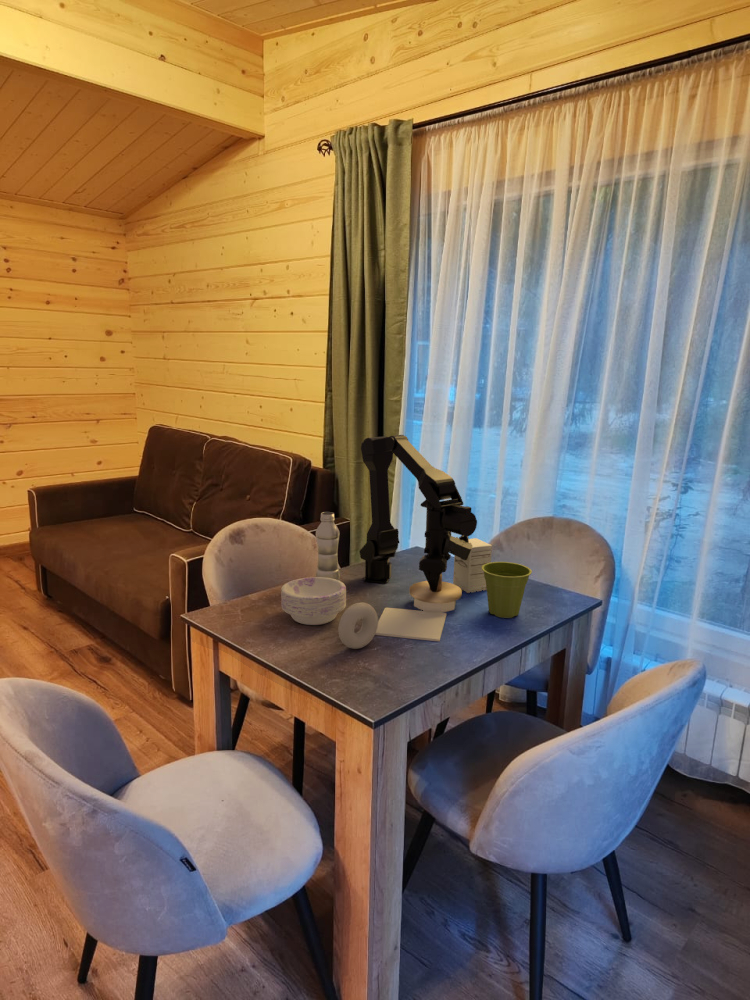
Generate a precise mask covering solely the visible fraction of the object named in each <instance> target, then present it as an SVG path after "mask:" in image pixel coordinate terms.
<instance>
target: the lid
mask: <svg viewBox="0 0 750 1000" xmlns="http://www.w3.org/2000/svg"><path fill="white" fill-rule="evenodd" d="M408 591H409V592H408V594H409V596H410V597H412V598H415V599H417V600H420V601H423V602H429V603H448V602H453V601H456V602H457V601H458V600H460V599H462V595H463V594H462V592H463V590H462V589H461V588H460V587H458V586H457V585H454V584H453V583H452V582H447V581H443V573H442V574H440V578H439V583H438V587H437V591H436V592H432V591H431V588H430V586H429V584H428V581H427V580H424V581H418V582H415V583H413V584H411V585H410V586H409V589H408Z"/></svg>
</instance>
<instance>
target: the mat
mask: <svg viewBox="0 0 750 1000" xmlns="http://www.w3.org/2000/svg"><path fill="white" fill-rule="evenodd" d="M446 619H447V612H443V613H439V612H428V611H422V610H418V609H417V610H415V609H414V610H413V609H406V608H396V607H395V608H394V607H384V609H383V611H382V614H381V615H380V617H379V618H378V627H377V631H376V633H375V635H374V636H385V637H392V638H393V637H394V638H402V639H403V638H404V639H413V640H421V641H432V642H440V640H441V637H442V633H443V629H444V627H445V626H444V625H445V623H446V622H445V621H446Z"/></svg>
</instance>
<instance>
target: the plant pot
mask: <svg viewBox="0 0 750 1000" xmlns="http://www.w3.org/2000/svg"><path fill="white" fill-rule="evenodd" d="M482 570H483V571H484V577H485V580H486V588H487V590H486V597H487V606H488V612H489V613H490V614H491V615H494V616H496V617H499V618H506V619H511V618H515V616H518V615H519V614H520V610H521V606H522V601H523V597H524V595H525V589H526V585H527V583H528V581H529V577H530V575H532V572H533V570H532V569H531V568H529V566H526V565H523V564H520V563H515V562H509V561H493V562H492V561H491V563H487V564H484V565H483V566H482Z"/></svg>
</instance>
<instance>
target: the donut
mask: <svg viewBox="0 0 750 1000" xmlns="http://www.w3.org/2000/svg"><path fill="white" fill-rule="evenodd" d="M359 620H362V625H361V627H360V629H359V630H358V631H357V632H355V627H356V625H357V622H359ZM378 621H379V616H378V614H377V611H376V610H375V608H374V607H373V606H372V605H371V604H369V603H366V602H356V603H354V604H351V605H350V606H348V608H346V609H345V610H344V612H343V614H342V615H341V617H340V619H339V622H338V628H337V631H338V638H339V639H340V641H341V643H342V644H343V645H345V646H346V647H347V648H349V649H354V650H357V649H362V648H364V647H366V646H367V645H368V644H369V643H371V642H372V640H373V639H374V637H375V636H376V635H375V633H376V631H377V627H378Z"/></svg>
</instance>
